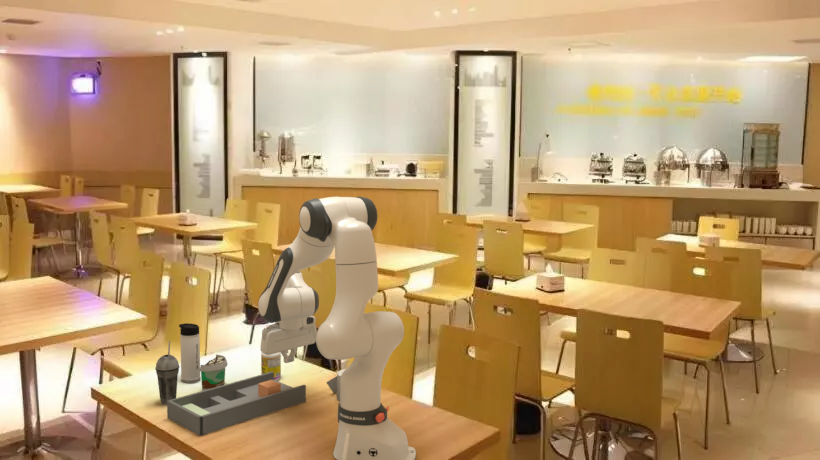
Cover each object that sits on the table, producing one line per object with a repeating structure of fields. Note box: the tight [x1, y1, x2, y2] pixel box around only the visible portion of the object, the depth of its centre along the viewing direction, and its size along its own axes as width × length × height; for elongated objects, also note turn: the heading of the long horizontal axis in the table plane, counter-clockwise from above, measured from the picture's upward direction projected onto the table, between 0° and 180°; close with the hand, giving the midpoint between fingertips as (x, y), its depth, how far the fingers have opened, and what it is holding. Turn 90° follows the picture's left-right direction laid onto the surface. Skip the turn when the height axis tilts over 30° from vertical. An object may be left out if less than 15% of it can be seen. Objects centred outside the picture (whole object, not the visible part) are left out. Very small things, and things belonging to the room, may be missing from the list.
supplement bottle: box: [260, 352, 282, 382], centre depth 265 cm, size 7×7×13 cm
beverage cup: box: [154, 340, 180, 406], centre depth 241 cm, size 7×7×20 cm
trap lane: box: [166, 372, 307, 437], centre depth 238 cm, size 38×18×6 cm, turn 137°
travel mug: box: [178, 322, 201, 384], centre depth 261 cm, size 6×7×20 cm
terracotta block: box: [258, 380, 281, 397], centre depth 242 cm, size 5×5×4 cm
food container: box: [200, 354, 228, 391], centre depth 255 cm, size 12×6×10 cm, turn 168°
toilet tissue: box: [325, 368, 347, 402], centre depth 249 cm, size 9×13×9 cm
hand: (288, 361), depth 247 cm, fingers closed
